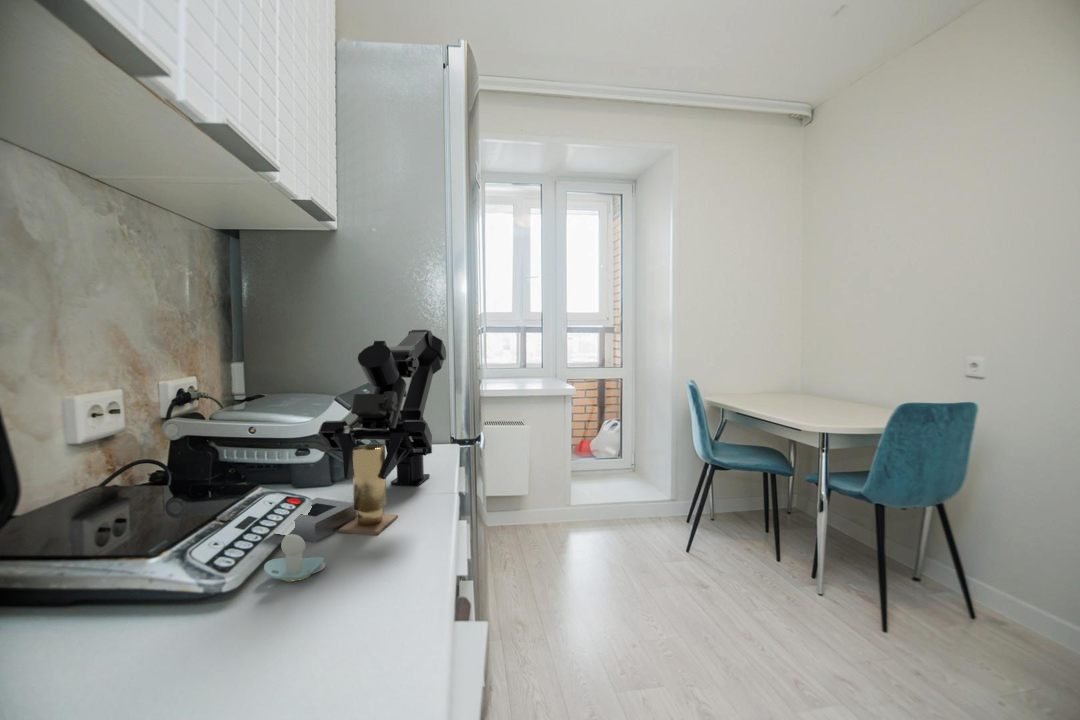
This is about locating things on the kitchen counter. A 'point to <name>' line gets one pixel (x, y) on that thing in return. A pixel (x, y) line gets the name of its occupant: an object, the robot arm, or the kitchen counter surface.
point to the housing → (323, 519)
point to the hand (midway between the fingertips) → (364, 478)
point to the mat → (376, 529)
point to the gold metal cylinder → (369, 483)
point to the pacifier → (293, 561)
